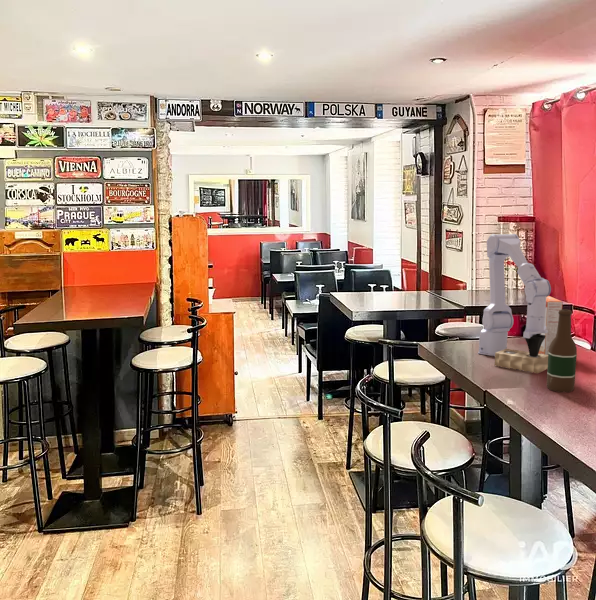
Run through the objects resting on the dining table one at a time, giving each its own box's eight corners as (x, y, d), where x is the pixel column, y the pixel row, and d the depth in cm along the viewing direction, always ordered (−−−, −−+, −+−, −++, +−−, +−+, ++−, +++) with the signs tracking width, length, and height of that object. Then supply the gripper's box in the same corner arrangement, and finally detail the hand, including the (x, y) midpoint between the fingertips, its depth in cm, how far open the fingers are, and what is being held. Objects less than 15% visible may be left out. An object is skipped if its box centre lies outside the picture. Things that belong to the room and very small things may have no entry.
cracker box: (530, 349, 248) (533, 295, 245) (546, 349, 248) (550, 295, 245) (543, 358, 234) (546, 300, 231) (560, 358, 234) (563, 300, 231)
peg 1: (503, 365, 224) (504, 352, 223) (507, 363, 226) (508, 350, 226) (512, 366, 222) (512, 353, 221) (515, 365, 224) (516, 352, 224)
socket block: (494, 365, 223) (495, 352, 222) (505, 361, 230) (506, 348, 229) (537, 373, 213) (538, 359, 213) (548, 368, 220) (549, 355, 219)
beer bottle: (573, 386, 198) (578, 308, 194) (575, 394, 191) (580, 312, 187) (545, 384, 200) (550, 307, 197) (546, 391, 193) (551, 311, 189)
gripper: (539, 320, 208) (537, 362, 210) (556, 314, 219) (553, 354, 221) (518, 317, 213) (515, 358, 215) (535, 312, 224) (533, 351, 226)
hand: (533, 356), depth 218 cm, fingers closed, pressing on peg 2
